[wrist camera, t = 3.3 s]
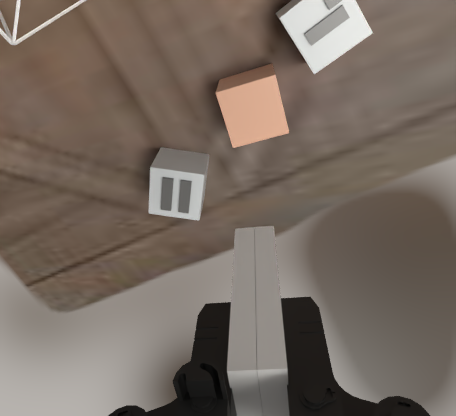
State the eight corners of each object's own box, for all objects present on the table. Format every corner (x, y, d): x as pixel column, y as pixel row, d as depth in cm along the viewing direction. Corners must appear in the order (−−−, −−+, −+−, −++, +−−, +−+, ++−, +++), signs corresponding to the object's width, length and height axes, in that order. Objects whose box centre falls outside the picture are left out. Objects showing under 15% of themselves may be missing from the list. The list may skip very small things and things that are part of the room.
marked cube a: (158, 189, 42) (147, 214, 38) (161, 146, 40) (149, 168, 35) (204, 196, 42) (198, 222, 38) (209, 153, 40) (204, 176, 35)
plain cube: (234, 129, 38) (233, 148, 34) (219, 79, 36) (215, 92, 32) (284, 115, 38) (289, 132, 33) (272, 63, 35) (275, 74, 31)
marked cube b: (306, 62, 35) (314, 75, 30) (275, 13, 33) (279, 18, 29) (356, 26, 33) (373, 33, 29) (327, -29, 31) (340, -30, 27)
